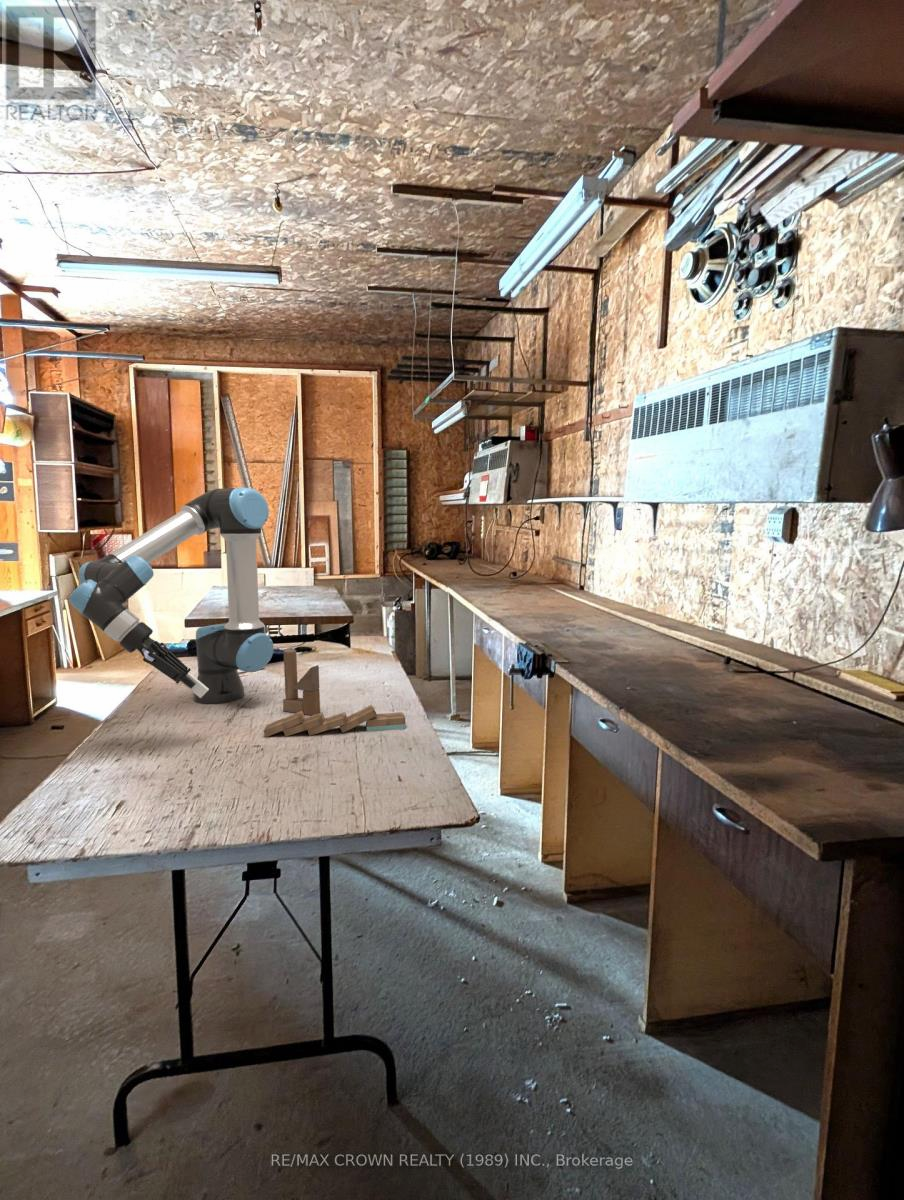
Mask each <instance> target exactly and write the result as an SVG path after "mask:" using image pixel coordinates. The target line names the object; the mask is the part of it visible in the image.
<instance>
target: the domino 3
mask: <svg viewBox="0 0 904 1200" xmlns="http://www.w3.org/2000/svg"><path fill="white" fill-rule="evenodd" d="M347 717H348V715H347V713H346V711H343V712H340V713H337V714H334V715H330V716H327V717H324V718H325V719H324V721H323V724H322V725H319V726H316V727H313V728H310V729H307V733H308V735H309V736H314V735H317V734H319V733H322V732H325V731H328V730H333V729H335V728H338V727H340V726H341V725H345V724H347Z"/></svg>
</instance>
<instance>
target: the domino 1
mask: <svg viewBox="0 0 904 1200" xmlns="http://www.w3.org/2000/svg"><path fill="white" fill-rule="evenodd" d="M304 718H306V716H305V714H303V711H300V712H298V713H293V714H290V715H289V716H285V717H283V718H281V719H278V720H276V721H273V722H271V723H267V724H266V726H265V727H264V729H263V733H264V735H265V738H267V737H270V736H272V735H275V734H277V733H280V732H284V731H283V730H285V729H288V728H290V727H293V726H295V725H298V724H300V723H302V722H303V720H304Z"/></svg>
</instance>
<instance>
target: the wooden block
mask: <svg viewBox="0 0 904 1200" xmlns="http://www.w3.org/2000/svg"><path fill="white" fill-rule="evenodd" d="M297 658H298V657H297V649H285V650H284V651H283V670H284V673H283V674H284V689H285V690H284V691H285V692H284V693H285V698H284V699H283V700H282V709H283V712H288V713H293V714H295V713H298V712H300V711H303V714H304V715H306V716H307V715H308V716H313V715H316V714H319V713H321V697H320V696H321V695H320V671H319V669H320V667H319V664H317V665H314V666H312V667H310V668H309V669H308V670H307V672H306V673H304V675H302V677H301V678H300V679H299V681H298V663H297V662H298V661H297ZM299 691H302V697H299Z"/></svg>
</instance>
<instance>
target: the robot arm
mask: <svg viewBox="0 0 904 1200" xmlns="http://www.w3.org/2000/svg"><path fill="white" fill-rule="evenodd" d="M269 511H270V510H269V505H268V502H267V500H266V498H265V497H264V495H262V493H260V492H259V491H258V490H256V489H254V488H250V487H243V486H241V487H229V488H227V487H226V488H215V489H211V490H209V491H207V492H204V493H203V494H201V495H199V496H197V497H195V498H194V499H192V500H191V501H188V502H187V503H185V504H184V505H182V506H181V507H180V508H179V512H178V513H176V514H174V515H172V516H171V517H169V518H168V519H166V520H164V521H162V522H161V523H159V524H158V525H156V526H154V527H152V528H151V529H150V530H148V531H146V532H144V533H142V534H141V535H139V536H137V537H135V538H134V539H133V540H131V541H129V542H127V543H126V544H124V545H123V546H121V547H119V548H118V549H116V550H114V551H113V552H111V553H109V554H108V555H105V556H103V557H102V558H100V559H99V560H91V561H87V562H85V563H84V564H82V565H81V566H80V568H79V570H78V573H77V574H78V575H77V577H78V581H79V582H80V585H79V586H77V587H76V588H75V589H74V590H73V591H72V592H71V594H70V596H69V597H68V602H69V604H70V605H71V606H72V607H73V608H74V609H75V610H77V612H79V613H80V614H81V616H84V617H85V618H87V620H89V621H90V622H91V623H93V624H94V625H95V626H97V627H98V628H100V629H101V630H102V631H103V632H104V633H105V634H106V637H107V638H111V639H113V640H114V641H115V642H119V645H120V646H121V648H123V649H125V651H127V652H128V653H129V654H131V653H132V654H133V652H135V651H136V650H137V651H138V652H139V653H140V654H141V656H142V657H143V658H142V661H143V662H145V663H147V664H148V665H151V666H153V667H154V668H155V669H156V670H157V671H159V672H161V673H162V674H164V675H165V676H167V677H168V678H169V679H171V680H172V681H173V682H175V684H176V685H178V684H179V683H181V684H183V685H184V686H185V687H186V688H187V689H189V691H192V693H193V701H195V702H196V703H199V704H221V703H228V702H233V701H236V700H239V699H241V698H243V697H244V696H245V687H244V684H243V681H242V679H241V677H240V674H239V671H242V672H257V671H260V670H263V669H264V668H265V667H266V666H267V664H268V663H270V661H271V660H272V657H273V655H274V654H273V653H274V643H273V640H272V638H271V637H270V636H269V635H267V634H266V629H265V628H266V627H265V623H264V622H262V621H261V620H260V609H259V606H260V605H259V581H258V577H259V576H258V555H257V550H258V549H257V541H258V538H259V537H261V535H262V527H263V526H264V525H265V524H266V522H268V519H269V515H270V513H269ZM214 529H219V535H220V536H221V537H222V538H223V539H224V540H225V552H226V553H225V555H226V556H225V557H226V575H227V576H226V577H227V601H228V602H227V603H228V622H226V623H219V624H218V623H216V624H211V625H206V626H200V627H198V628H197V629H196V631H195V644H196V659H197V661H196V662H197V677H195V676H194V675H193V674H192V673H190V671H191V670H192V669H191V668H190V667H188V666H187V665H186V664H185V663H184V662H183V661H182V660H180V659H179V658H178V656H176V655H175V654H174V653H173V652H172V651H171V650H170V649H169V648H168V647H167V646H166V644H165V643H163V642H159V641H158V640H155V639H153V638H151V637H150V636H151V635H152V634H153V631H154V630H153V629H152V628H150V626H148V625H147V624H146V623H145V622H143V621H140V618H139V617H138V616H137V615H135V614H134V613H133V612H131V611H130V610H129V609H128V608H127V607H126V606H124V605H123V604H125V603H126V602H128V600H129V599H131V597H133V596H134V595H135V594H136V593H137V592H138V591H140V590H141V589H142V588H143V587H144V586H146V585H147V584H148V583H149V582H150V581H151V580H152V579H153V577H154V570H153V568H152V566H151V565H150V564H151V563H152V562H154V561H155V560H157V559H159V557H162V556H163V555H165V554H166V553H168V552H169V551H171V550H172V549H174V548H175V547H178V546H179V545H181V544H182V543H184V542H185V541H187V540H189V539H190V538H191V537H193V536H194V535H197V536H200V535H203V534H204V533H206V532H208V531H211V530H214ZM238 670H239V671H238Z"/></svg>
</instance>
